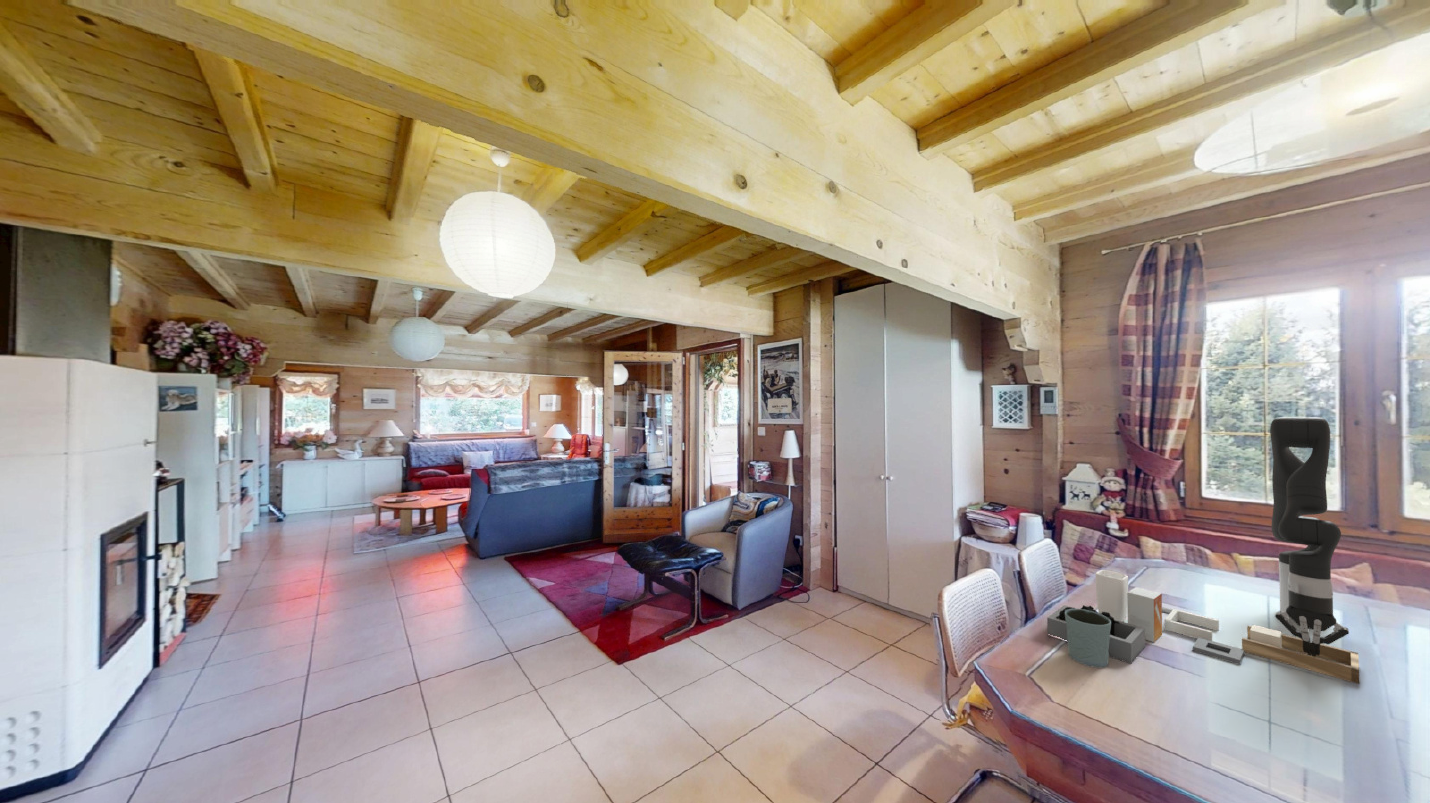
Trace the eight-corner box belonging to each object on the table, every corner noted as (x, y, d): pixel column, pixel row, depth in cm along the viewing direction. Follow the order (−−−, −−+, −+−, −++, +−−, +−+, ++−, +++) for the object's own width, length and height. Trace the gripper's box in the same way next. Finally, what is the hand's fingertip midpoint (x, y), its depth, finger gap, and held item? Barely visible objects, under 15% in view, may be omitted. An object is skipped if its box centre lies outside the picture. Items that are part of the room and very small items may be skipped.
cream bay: (1173, 617, 153) (1173, 608, 154) (1218, 629, 145) (1218, 619, 145) (1164, 629, 146) (1164, 619, 146) (1211, 642, 137) (1211, 632, 137)
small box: (1154, 642, 137) (1154, 598, 138) (1127, 634, 143) (1126, 591, 143) (1163, 635, 142) (1162, 592, 142) (1135, 627, 147) (1135, 586, 147)
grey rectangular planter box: (1064, 622, 151) (1064, 605, 151) (1145, 646, 135) (1144, 628, 135) (1047, 635, 142) (1047, 617, 142) (1131, 663, 126) (1131, 643, 126)
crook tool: (1156, 609, 160) (1156, 605, 160) (1212, 621, 150) (1212, 618, 150) (1156, 613, 157) (1156, 609, 157) (1213, 625, 148) (1213, 622, 148)
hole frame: (1198, 640, 138) (1198, 636, 138) (1244, 653, 131) (1244, 649, 131) (1192, 650, 133) (1192, 646, 133) (1239, 664, 126) (1239, 660, 126)
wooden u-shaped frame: (1247, 636, 140) (1247, 625, 140) (1358, 665, 125) (1358, 652, 125) (1242, 651, 132) (1242, 638, 133) (1359, 683, 117) (1359, 669, 117)
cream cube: (1252, 643, 137) (1252, 624, 137) (1282, 650, 133) (1281, 631, 133) (1250, 648, 134) (1250, 629, 134) (1280, 657, 129) (1280, 637, 129)
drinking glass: (1104, 654, 131) (1104, 612, 131) (1118, 673, 122) (1117, 627, 122) (1061, 646, 135) (1060, 605, 136) (1070, 664, 126) (1070, 620, 126)
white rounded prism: (1130, 620, 151) (1129, 575, 152) (1122, 626, 147) (1122, 580, 148) (1102, 612, 158) (1101, 568, 158) (1094, 618, 153) (1093, 573, 154)
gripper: (1350, 596, 124) (1352, 661, 124) (1273, 581, 135) (1274, 641, 134) (1351, 603, 119) (1352, 670, 119) (1271, 587, 130) (1272, 649, 130)
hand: (1311, 654), depth 127 cm, fingers closed
